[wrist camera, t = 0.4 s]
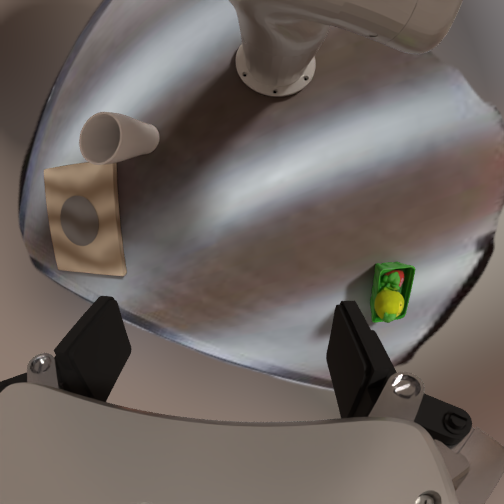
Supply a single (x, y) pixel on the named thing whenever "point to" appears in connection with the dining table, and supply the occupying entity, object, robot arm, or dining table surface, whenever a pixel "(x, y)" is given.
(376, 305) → the fruit basket
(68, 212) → the serving board
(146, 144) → the drinking glass
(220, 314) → the dining table surface
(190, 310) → the dining table surface
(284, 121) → the dining table surface
